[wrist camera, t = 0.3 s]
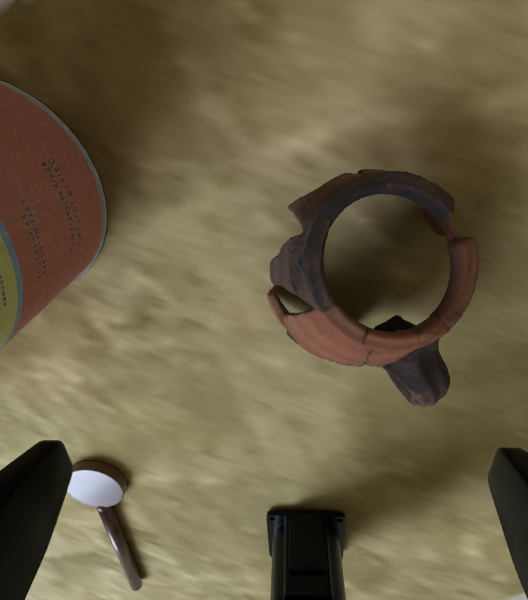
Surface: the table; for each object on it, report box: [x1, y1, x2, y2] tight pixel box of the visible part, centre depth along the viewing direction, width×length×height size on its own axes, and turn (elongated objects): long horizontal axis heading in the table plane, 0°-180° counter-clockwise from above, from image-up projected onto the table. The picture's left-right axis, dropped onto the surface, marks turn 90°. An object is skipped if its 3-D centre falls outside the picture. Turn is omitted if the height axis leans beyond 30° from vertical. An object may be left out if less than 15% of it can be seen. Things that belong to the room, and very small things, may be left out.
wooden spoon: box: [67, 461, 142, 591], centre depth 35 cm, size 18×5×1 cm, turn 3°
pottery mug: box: [267, 169, 479, 407], centre depth 20 cm, size 12×10×8 cm
